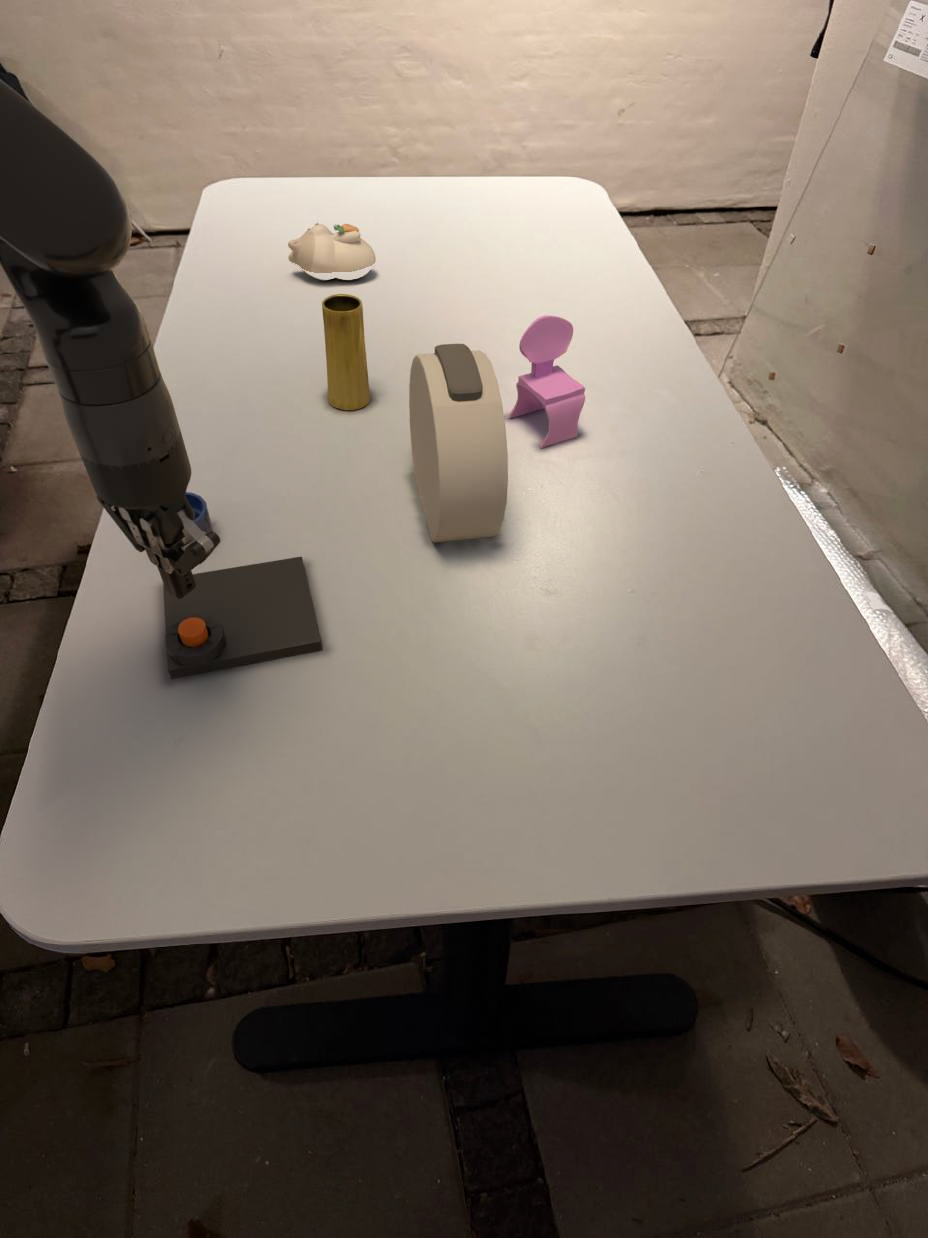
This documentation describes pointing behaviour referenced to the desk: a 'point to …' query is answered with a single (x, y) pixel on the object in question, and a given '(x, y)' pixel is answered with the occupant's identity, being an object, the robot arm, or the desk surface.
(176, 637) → the scale
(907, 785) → the desk surface
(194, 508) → the bowl
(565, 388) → the toy chair
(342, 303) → the vase
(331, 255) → the cat figurine
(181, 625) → the button
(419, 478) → the alarm clock
